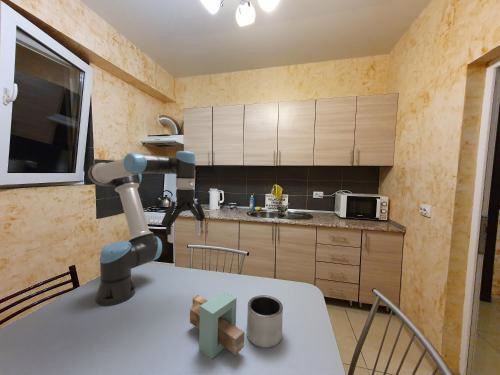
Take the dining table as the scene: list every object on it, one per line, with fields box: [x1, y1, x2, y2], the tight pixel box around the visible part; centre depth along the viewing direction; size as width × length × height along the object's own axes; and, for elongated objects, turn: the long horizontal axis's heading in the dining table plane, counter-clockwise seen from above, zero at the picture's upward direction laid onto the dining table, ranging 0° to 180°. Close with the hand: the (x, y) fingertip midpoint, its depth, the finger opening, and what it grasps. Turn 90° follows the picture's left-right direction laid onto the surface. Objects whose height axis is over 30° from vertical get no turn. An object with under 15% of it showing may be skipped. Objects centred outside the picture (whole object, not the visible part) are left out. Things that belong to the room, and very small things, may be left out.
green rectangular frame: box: [198, 291, 237, 360], centre depth 71 cm, size 6×11×14 cm, turn 143°
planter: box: [246, 294, 284, 348], centre depth 75 cm, size 13×13×11 cm
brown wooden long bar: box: [189, 304, 245, 356], centre depth 72 cm, size 22×4×5 cm, turn 53°
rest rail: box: [192, 295, 208, 308], centre depth 87 cm, size 12×3×4 cm, turn 53°
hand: (184, 238), depth 90 cm, fingers open, 13 cm apart
